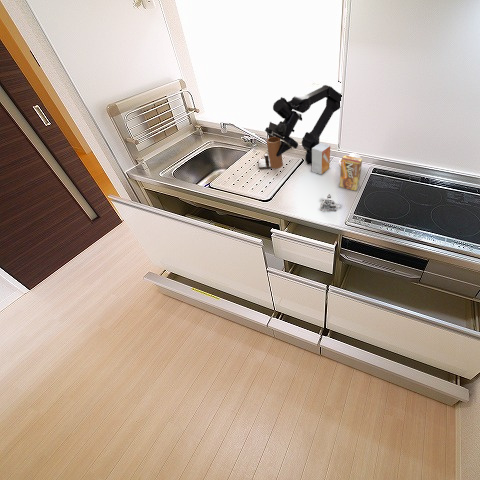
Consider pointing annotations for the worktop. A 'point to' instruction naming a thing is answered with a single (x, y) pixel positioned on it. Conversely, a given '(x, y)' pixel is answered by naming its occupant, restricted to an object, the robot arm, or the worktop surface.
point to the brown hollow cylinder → (274, 152)
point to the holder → (264, 163)
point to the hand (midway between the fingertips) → (272, 153)
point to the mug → (351, 156)
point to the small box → (320, 158)
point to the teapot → (328, 205)
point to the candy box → (350, 172)
